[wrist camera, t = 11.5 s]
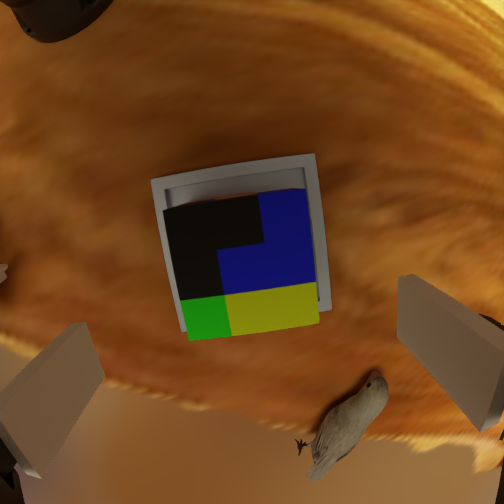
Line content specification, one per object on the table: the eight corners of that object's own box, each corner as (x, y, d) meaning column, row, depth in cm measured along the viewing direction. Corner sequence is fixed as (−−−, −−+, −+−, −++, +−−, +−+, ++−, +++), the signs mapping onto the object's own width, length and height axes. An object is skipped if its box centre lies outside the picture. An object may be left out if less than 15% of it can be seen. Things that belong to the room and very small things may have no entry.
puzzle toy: (287, 187, 31) (305, 188, 21) (298, 283, 33) (319, 323, 23) (187, 202, 31) (162, 210, 21) (204, 296, 33) (189, 340, 23)
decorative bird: (389, 374, 37) (411, 406, 30) (317, 450, 40) (326, 486, 33) (361, 360, 37) (382, 393, 29) (288, 440, 39) (294, 478, 32)
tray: (157, 179, 32) (150, 179, 29) (309, 155, 31) (314, 153, 29) (185, 322, 35) (181, 331, 33) (326, 301, 35) (331, 309, 32)
